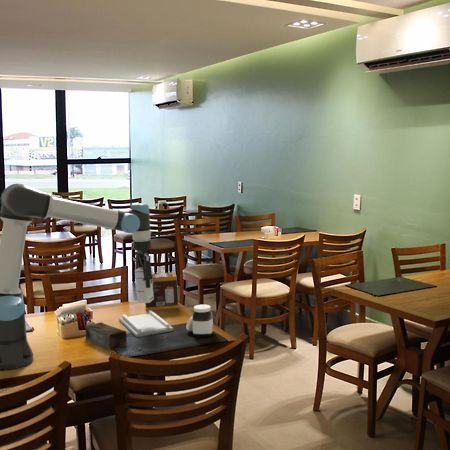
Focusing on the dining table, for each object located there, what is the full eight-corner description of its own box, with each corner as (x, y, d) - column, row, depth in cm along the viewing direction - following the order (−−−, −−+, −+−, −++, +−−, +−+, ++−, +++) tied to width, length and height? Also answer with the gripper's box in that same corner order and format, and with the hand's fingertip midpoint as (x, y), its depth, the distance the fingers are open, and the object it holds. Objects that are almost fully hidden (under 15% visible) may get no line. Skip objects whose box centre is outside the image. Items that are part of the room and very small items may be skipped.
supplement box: (144, 305, 277) (143, 274, 275) (176, 302, 280) (174, 271, 278) (145, 310, 267) (144, 278, 265) (178, 308, 270) (177, 276, 268)
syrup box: (149, 303, 239) (147, 269, 237) (136, 302, 240) (134, 269, 238) (154, 299, 244) (152, 266, 242) (141, 299, 246) (139, 266, 244)
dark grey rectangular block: (102, 335, 234) (101, 319, 233) (128, 346, 220) (127, 329, 219) (85, 340, 228) (84, 324, 227) (110, 351, 214) (109, 334, 213)
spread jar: (209, 339, 224) (208, 310, 223) (182, 337, 227) (180, 309, 225) (216, 329, 236) (215, 302, 235) (189, 328, 238) (188, 301, 237)
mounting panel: (173, 330, 236) (173, 324, 236) (136, 337, 229) (135, 330, 229) (153, 315, 259) (153, 309, 259) (119, 320, 253) (119, 314, 252)
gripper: (158, 242, 231) (161, 296, 234) (143, 236, 249) (145, 286, 252) (140, 244, 228) (143, 299, 231) (126, 237, 246) (129, 289, 249)
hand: (144, 292), depth 242 cm, fingers closed on syrup box, 8 cm apart
